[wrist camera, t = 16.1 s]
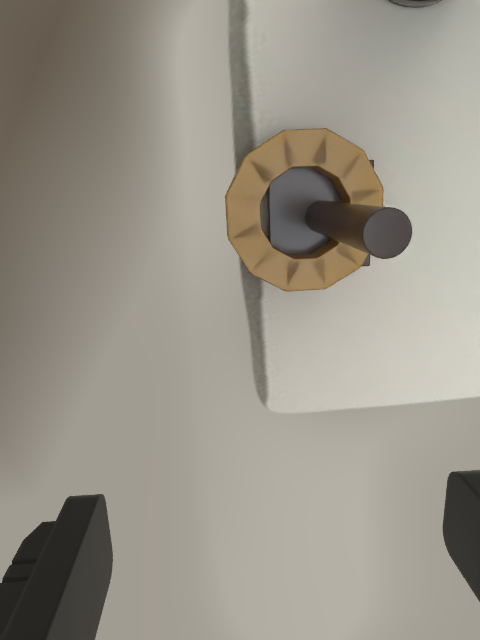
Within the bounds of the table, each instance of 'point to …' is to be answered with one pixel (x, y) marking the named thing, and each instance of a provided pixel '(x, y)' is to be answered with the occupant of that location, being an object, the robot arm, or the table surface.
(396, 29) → the table surface
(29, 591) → the robot arm
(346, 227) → the stand
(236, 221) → the ring
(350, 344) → the table surface
